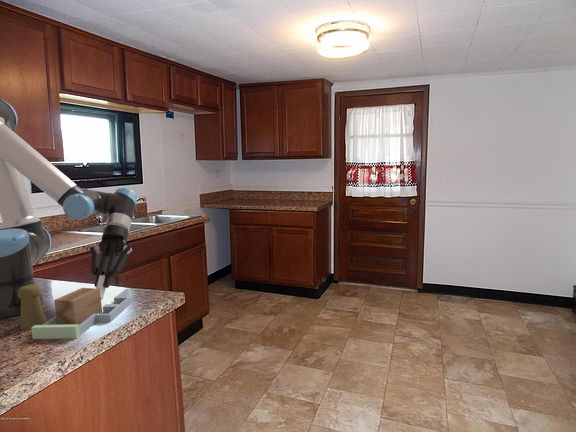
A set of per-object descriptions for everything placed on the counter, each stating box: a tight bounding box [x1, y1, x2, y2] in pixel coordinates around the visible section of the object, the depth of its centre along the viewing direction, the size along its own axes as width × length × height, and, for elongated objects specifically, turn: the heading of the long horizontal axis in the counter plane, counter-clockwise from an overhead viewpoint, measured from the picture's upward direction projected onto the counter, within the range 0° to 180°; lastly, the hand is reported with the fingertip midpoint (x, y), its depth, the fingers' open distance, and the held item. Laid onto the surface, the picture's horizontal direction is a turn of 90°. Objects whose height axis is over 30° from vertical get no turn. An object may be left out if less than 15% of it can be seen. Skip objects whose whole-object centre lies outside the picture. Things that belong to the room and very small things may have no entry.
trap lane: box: [30, 288, 133, 340], centre depth 110 cm, size 15×30×3 cm, turn 179°
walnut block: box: [53, 287, 103, 325], centre depth 107 cm, size 6×10×7 cm, turn 166°
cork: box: [18, 284, 48, 331], centre depth 103 cm, size 6×6×11 cm
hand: (98, 297), depth 113 cm, fingers closed
